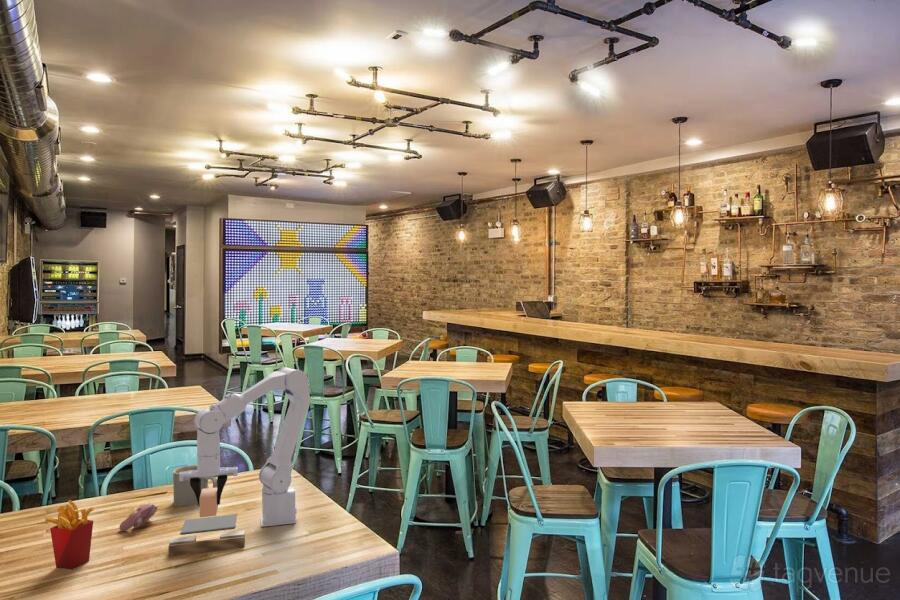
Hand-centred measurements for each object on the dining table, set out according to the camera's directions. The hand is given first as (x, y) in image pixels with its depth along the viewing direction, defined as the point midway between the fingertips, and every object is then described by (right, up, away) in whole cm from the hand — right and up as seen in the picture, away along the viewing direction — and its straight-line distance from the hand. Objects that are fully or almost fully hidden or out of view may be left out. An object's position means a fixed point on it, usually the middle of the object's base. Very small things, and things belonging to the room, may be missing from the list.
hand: (209, 504), depth 164 cm
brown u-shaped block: (+2, -9, -6) cm, 11 cm away
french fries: (-28, -10, -16) cm, 34 cm away
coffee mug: (-16, -9, +28) cm, 34 cm away
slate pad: (-4, -9, +9) cm, 13 cm away
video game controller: (-23, -9, +9) cm, 27 cm away
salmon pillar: (0, -2, -1) cm, 2 cm away
